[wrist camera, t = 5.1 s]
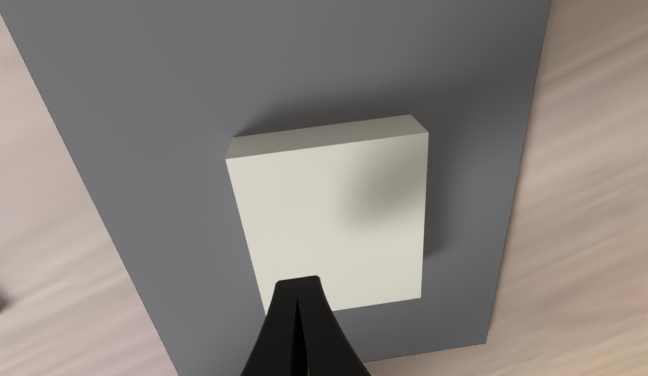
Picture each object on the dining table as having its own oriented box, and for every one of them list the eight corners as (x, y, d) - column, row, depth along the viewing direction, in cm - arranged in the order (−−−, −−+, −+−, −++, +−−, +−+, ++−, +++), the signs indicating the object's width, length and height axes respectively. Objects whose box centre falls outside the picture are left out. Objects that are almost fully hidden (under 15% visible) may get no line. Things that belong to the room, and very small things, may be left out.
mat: (481, 334, 22) (485, 343, 22) (188, 380, 22) (186, 390, 21) (562, -125, 11) (575, -131, 11) (-23, -64, 11) (-39, -66, 10)
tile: (268, 288, 18) (407, 267, 18) (267, 320, 16) (420, 297, 16) (232, 137, 14) (410, 114, 14) (225, 159, 12) (428, 132, 12)
